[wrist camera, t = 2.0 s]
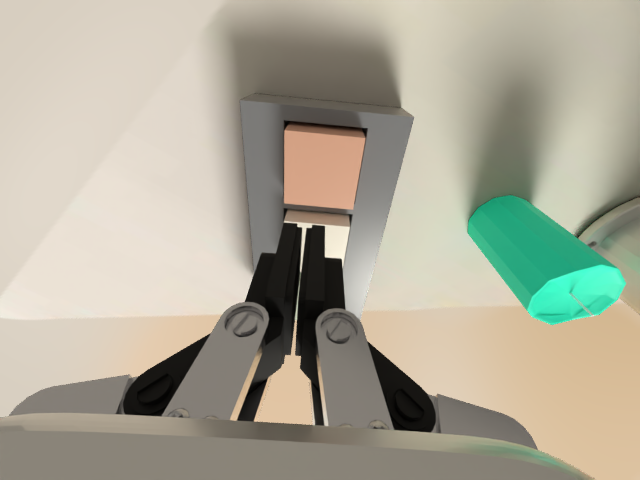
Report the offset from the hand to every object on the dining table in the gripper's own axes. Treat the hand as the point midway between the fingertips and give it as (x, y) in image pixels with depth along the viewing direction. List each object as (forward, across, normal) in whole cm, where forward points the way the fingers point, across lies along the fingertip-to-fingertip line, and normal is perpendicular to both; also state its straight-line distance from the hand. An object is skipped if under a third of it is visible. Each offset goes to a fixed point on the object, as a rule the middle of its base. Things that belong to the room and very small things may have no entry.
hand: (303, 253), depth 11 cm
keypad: (+15, -1, +7) cm, 17 cm away
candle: (+15, -19, +6) cm, 25 cm away
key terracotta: (+13, -1, 0) cm, 13 cm away
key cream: (+13, -1, +7) cm, 15 cm away
